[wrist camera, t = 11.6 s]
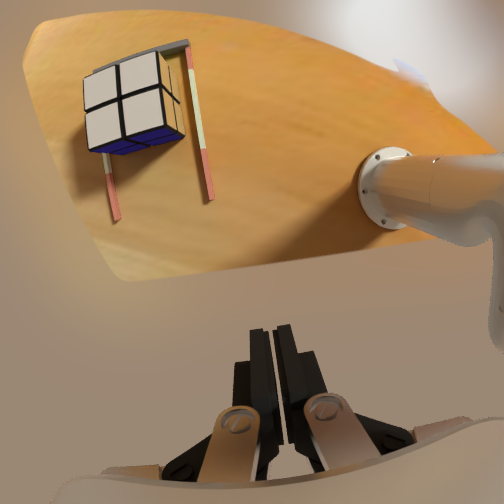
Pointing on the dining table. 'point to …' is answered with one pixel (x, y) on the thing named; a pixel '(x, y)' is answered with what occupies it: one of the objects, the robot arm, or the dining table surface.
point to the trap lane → (185, 46)
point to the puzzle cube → (132, 106)
